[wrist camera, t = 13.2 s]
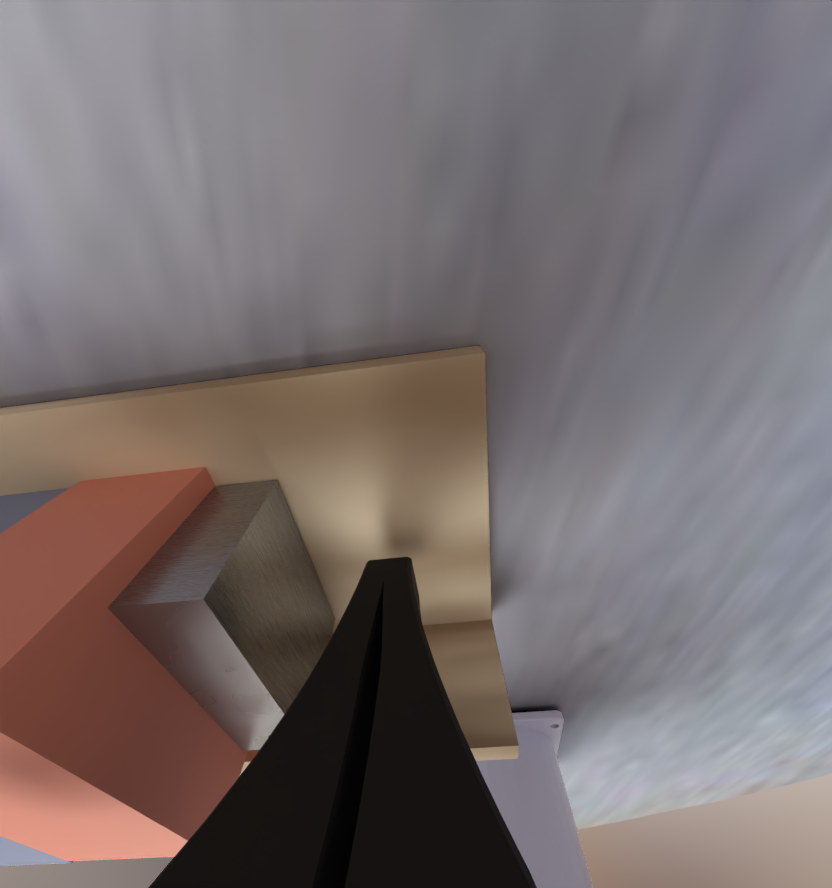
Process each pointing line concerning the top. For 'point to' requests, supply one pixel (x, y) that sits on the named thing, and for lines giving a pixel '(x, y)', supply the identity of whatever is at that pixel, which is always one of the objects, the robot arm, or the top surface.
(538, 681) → the top surface
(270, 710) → the bookend
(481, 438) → the shelf
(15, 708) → the orange rectangular block
